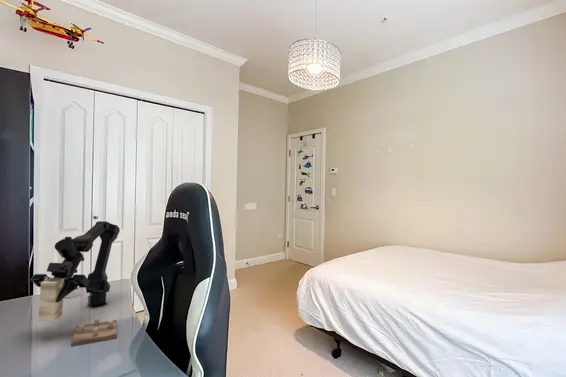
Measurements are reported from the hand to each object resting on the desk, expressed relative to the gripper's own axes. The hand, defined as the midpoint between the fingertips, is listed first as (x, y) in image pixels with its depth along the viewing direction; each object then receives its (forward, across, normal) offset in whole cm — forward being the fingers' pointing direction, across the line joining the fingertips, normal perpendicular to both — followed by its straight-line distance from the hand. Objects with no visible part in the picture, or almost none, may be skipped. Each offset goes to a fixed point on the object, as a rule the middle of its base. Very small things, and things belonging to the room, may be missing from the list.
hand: (49, 301), depth 108 cm
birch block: (+4, 0, +6) cm, 7 cm away
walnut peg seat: (+7, +15, +12) cm, 21 cm away
